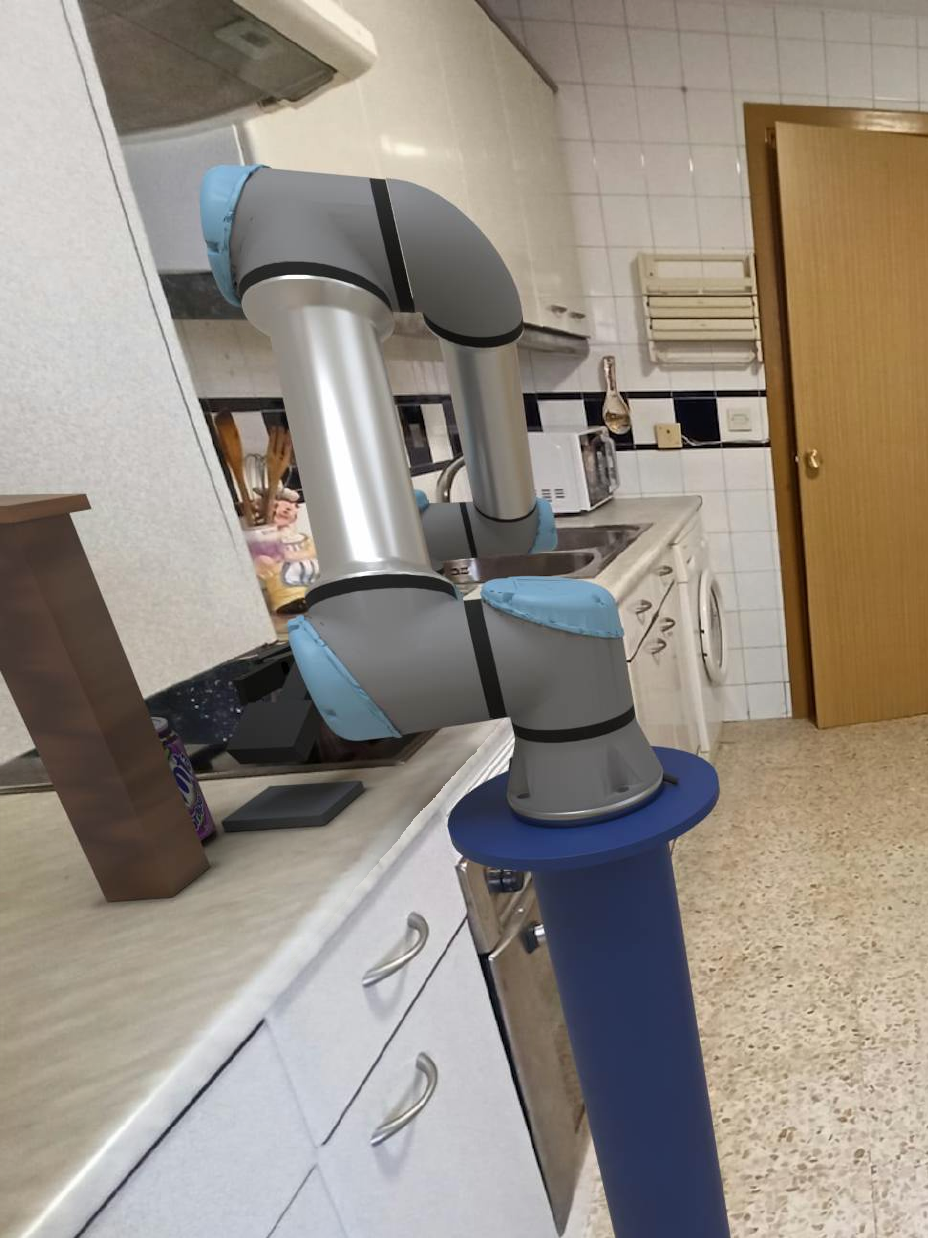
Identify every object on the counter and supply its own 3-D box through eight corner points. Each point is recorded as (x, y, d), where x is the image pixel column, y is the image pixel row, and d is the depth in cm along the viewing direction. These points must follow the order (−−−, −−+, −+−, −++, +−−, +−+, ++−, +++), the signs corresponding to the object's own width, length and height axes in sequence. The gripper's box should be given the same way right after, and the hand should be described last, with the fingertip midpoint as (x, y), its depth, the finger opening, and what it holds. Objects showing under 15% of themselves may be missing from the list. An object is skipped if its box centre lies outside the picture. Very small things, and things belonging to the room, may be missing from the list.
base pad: (364, 790, 92) (361, 780, 92) (324, 825, 85) (321, 814, 85) (273, 795, 91) (269, 785, 91) (224, 832, 84) (220, 821, 83)
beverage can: (135, 872, 77) (82, 751, 72) (107, 850, 80) (54, 734, 76) (230, 838, 83) (186, 724, 78) (200, 820, 86) (157, 709, 81)
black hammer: (352, 651, 94) (340, 635, 92) (306, 761, 85) (293, 746, 83) (292, 653, 93) (279, 637, 91) (240, 764, 84) (224, 750, 82)
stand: (227, 858, 79) (86, 493, 67) (174, 900, 73) (7, 505, 60) (155, 863, 78) (-3, 494, 66) (95, 906, 72) (-93, 507, 59)
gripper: (474, 654, 110) (389, 720, 89) (312, 660, 107) (186, 730, 86) (460, 597, 107) (369, 652, 86) (294, 601, 104) (158, 659, 83)
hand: (278, 691), depth 86 cm, fingers closed on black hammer, 6 cm apart
